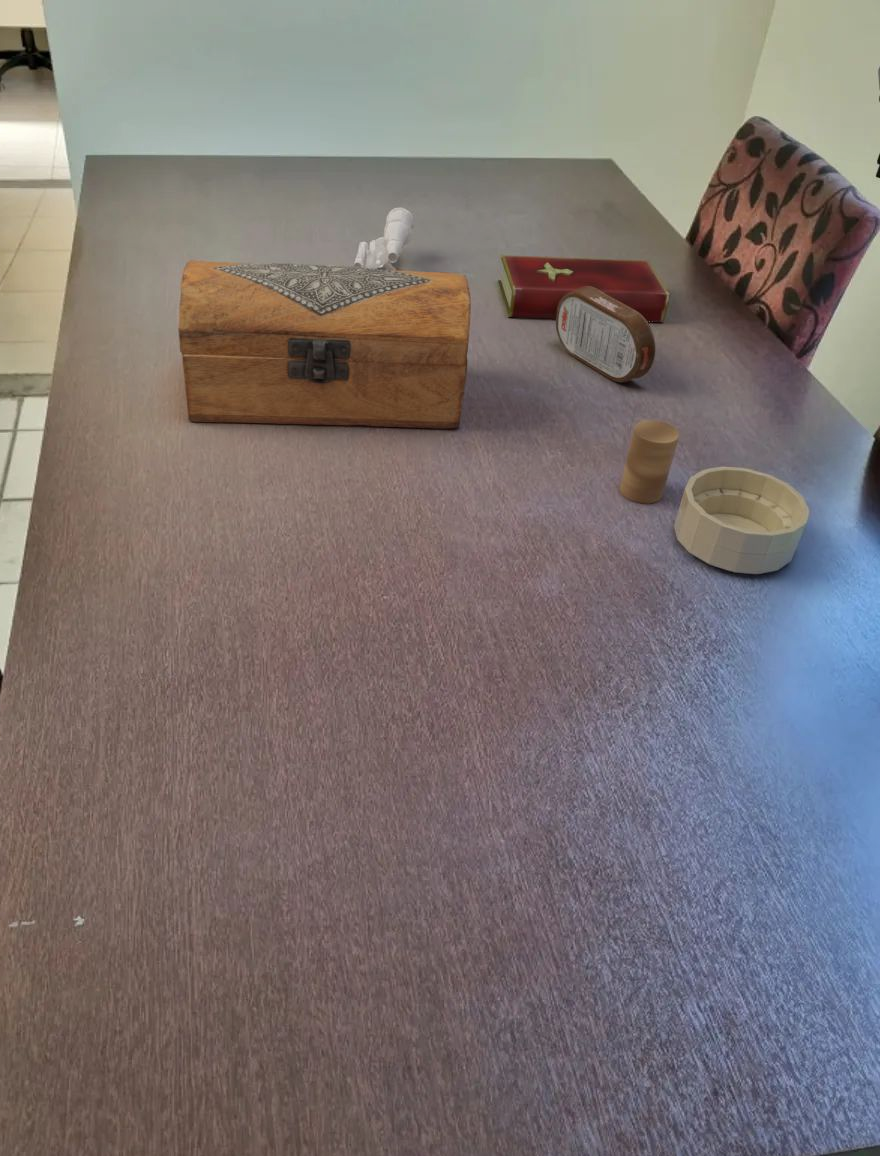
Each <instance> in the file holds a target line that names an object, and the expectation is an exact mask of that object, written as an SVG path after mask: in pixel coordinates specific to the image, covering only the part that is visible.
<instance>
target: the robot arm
mask: <svg viewBox="0 0 880 1156" xmlns="http://www.w3.org/2000/svg"><path fill="white" fill-rule="evenodd" d="M877 75H878V87H879V91H880V66H879V67H878V70H877ZM878 102H879V103H880V95H879V97H878ZM876 164H877V165H878V167H877V171H876V174H875V178H878V179H880V153H878V156H877V160H876Z"/></svg>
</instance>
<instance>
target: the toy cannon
mask: <svg viewBox="0 0 880 1156" xmlns="http://www.w3.org/2000/svg"><path fill="white" fill-rule="evenodd" d="M414 226H415V219H414V216H413V214H412V213H411V212H410V211H409V210H408V209H407V208H404V207H395V208H393V209H391V210H390V211H389V212H388V214H387V216H386V218H385V225H384V228H383V236H379V237H377V238H376V239H372V240H371V241H369V244H368V243H367V242H366V241H360V242H359V243H358V250H357V252H356V257H355V258H354V263H353V265H352V267H362V268H375V269H382V268H383V267H385V269H386V270H396V268H395V267H394V265H392V264H393V263H396V262H397V261H398V259H399V257H400V256H401V255H402V254H403V251H404V247H405V246H406V245H408V243H410V241H411V238H412V233H413V229H414ZM365 256H366V261H365ZM396 271H397V270H396Z"/></svg>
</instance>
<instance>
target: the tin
mask: <svg viewBox="0 0 880 1156" xmlns="http://www.w3.org/2000/svg"><path fill="white" fill-rule="evenodd" d="M555 330H556V334H557V337H558V339H559V342H560V344H561V345H562V347H563V348H564V350H565V351H566V352H567V353H568V354H569V355H570V356H572V357H573V358H575V359H577V360H578V361H580V362H581V363H583V364H585V365H586V366H588V367H589V368H591V369H593V370H594V371H596V372H597V373H599V374H600V375H603V376H604V377H606V378H607V379H609V380H610V381H613V382H615V383H626V382H629V381H632V380H635V379H640V378H643V377H644V376H646V375H647V373H648V372H649V371H650V370H651V368H652V366H653V364H654V361H655V357H656V340H655V335H654V332H653V330H652V328H651V326H650V324H649V322H647V321H646V319H645V318H644V317H643V316H642V315H641V314H640V313H639V312H637V311H636V310H634V309H632V308H630V307H628V306H626V305H625V304H623V303H621V302H619V301H617V300H615V299H614V298H612V297H610V296H608V295H606V294H605V293H603V292H601V291H599V290H598V289H596V288H594V287H590V286H585V287H581V288H579V289H578V290H575V291H572V292H570V293H568V294H566V295H565V296H564V297H562V299H561V300H560V302H559V304H558V308H557V314H556V319H555Z"/></svg>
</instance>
